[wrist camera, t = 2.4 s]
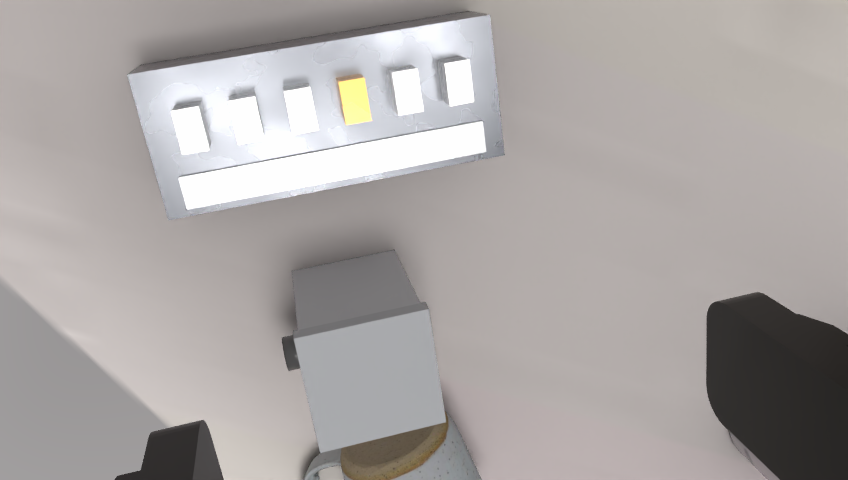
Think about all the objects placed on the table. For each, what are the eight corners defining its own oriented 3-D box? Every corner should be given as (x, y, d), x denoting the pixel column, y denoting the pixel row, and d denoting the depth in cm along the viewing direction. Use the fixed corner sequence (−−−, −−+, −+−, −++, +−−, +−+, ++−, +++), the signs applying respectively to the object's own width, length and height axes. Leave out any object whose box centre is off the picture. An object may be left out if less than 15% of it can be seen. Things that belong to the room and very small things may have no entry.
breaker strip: (468, 11, 39) (499, 16, 34) (483, 139, 41) (513, 161, 36) (140, 64, 37) (121, 78, 31) (177, 197, 39) (164, 230, 34)
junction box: (397, 245, 43) (428, 308, 35) (413, 341, 45) (446, 422, 37) (271, 271, 42) (274, 343, 33) (294, 368, 44) (301, 457, 36)
